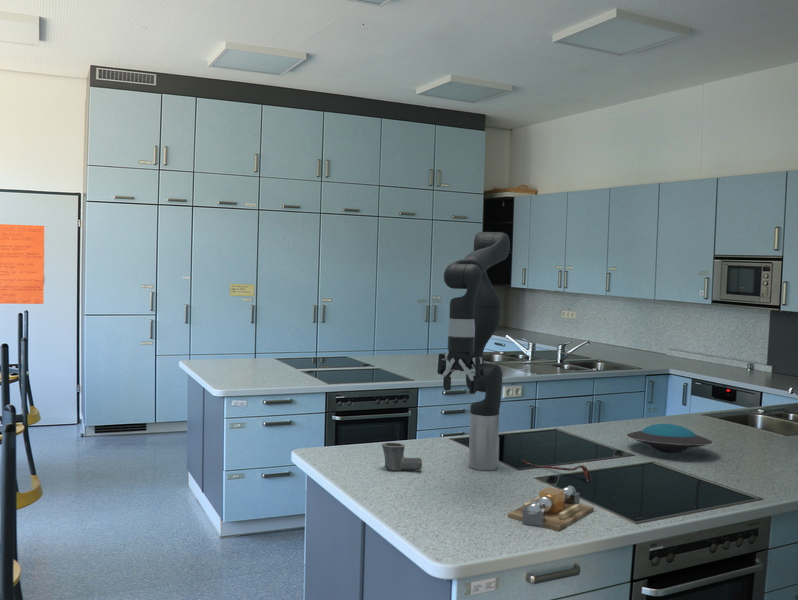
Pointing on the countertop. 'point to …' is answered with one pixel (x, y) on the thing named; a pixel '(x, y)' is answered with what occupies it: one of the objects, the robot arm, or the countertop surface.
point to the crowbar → (567, 469)
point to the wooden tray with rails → (557, 515)
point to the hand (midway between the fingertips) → (459, 391)
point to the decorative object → (669, 438)
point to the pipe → (399, 458)
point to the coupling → (552, 500)
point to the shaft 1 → (534, 514)
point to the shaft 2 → (571, 495)
